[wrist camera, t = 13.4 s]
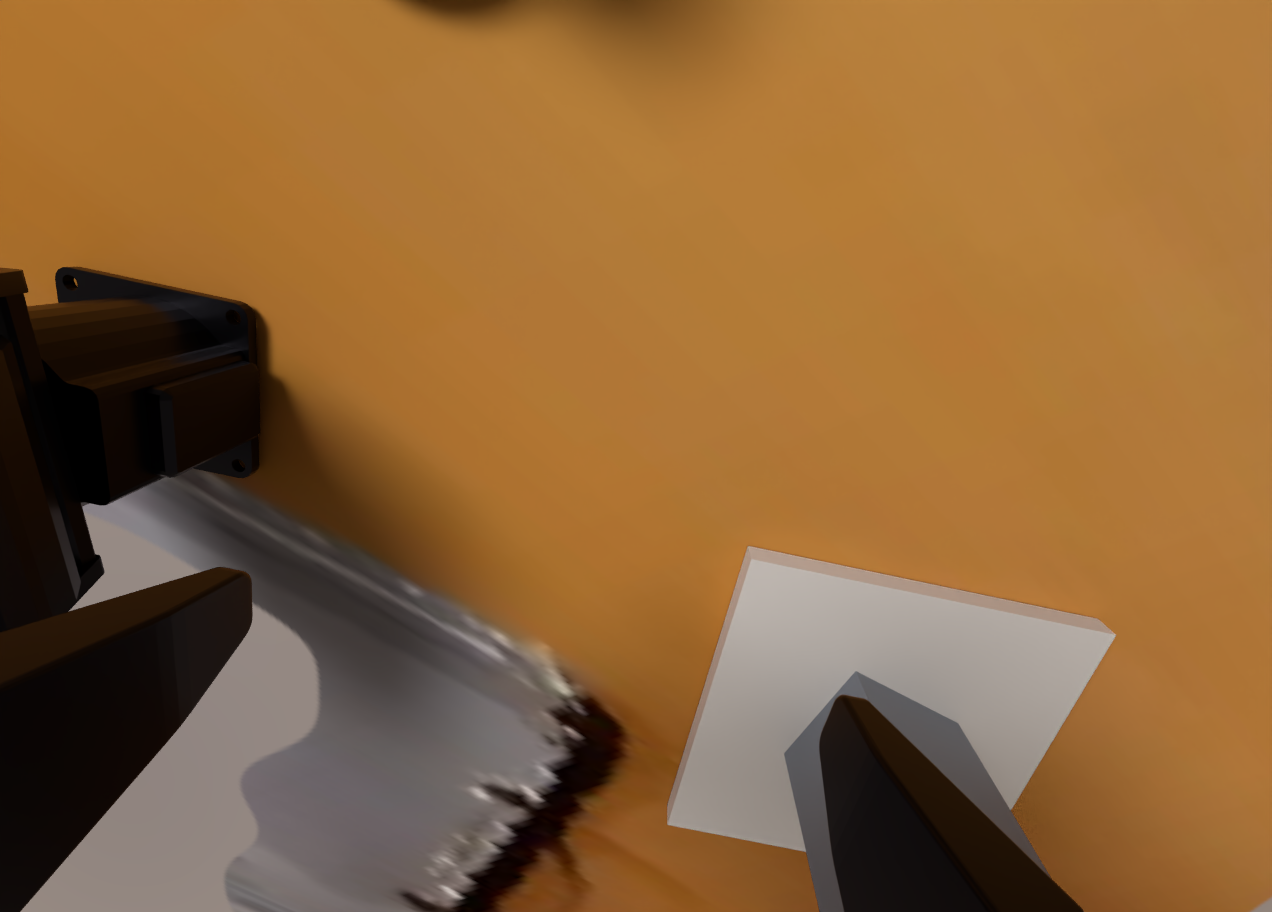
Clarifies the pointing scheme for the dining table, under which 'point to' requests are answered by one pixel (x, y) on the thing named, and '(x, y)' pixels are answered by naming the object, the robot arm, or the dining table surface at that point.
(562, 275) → the dining table surface
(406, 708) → the dining table surface
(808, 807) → the tall block
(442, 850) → the dining table surface
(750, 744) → the white plate
